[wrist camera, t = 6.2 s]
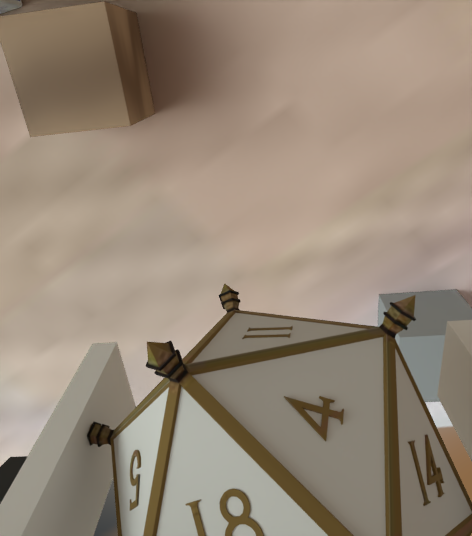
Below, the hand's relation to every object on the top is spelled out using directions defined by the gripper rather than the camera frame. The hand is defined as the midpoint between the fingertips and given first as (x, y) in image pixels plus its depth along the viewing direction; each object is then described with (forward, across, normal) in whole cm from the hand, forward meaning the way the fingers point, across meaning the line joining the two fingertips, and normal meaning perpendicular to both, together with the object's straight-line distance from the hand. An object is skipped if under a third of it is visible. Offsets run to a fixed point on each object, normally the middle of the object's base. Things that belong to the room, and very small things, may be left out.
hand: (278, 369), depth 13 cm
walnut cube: (+15, -9, +9) cm, 20 cm away
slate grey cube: (+15, +9, -9) cm, 20 cm away
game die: (+1, 0, 0) cm, 1 cm away
